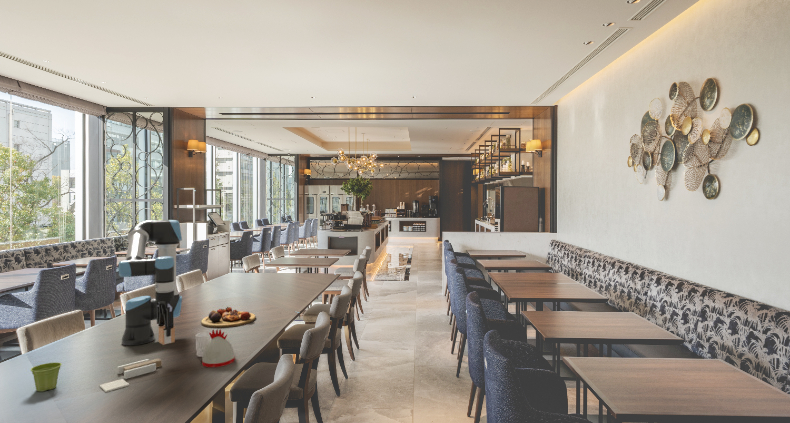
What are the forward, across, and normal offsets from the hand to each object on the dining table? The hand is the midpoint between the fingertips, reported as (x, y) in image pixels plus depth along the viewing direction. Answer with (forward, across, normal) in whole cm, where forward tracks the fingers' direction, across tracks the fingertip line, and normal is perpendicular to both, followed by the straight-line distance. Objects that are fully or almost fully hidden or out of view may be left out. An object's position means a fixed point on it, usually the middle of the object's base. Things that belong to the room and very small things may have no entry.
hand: (165, 341), depth 190 cm
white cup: (+11, +2, +17) cm, 20 cm away
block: (0, 0, +1) cm, 1 cm away
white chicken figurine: (+10, +16, +17) cm, 25 cm away
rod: (+11, 0, -9) cm, 14 cm away
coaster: (+10, +10, -23) cm, 27 cm away
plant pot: (+10, -8, -41) cm, 43 cm away
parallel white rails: (+10, +1, -12) cm, 16 cm away
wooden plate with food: (+13, -47, +56) cm, 74 cm away
